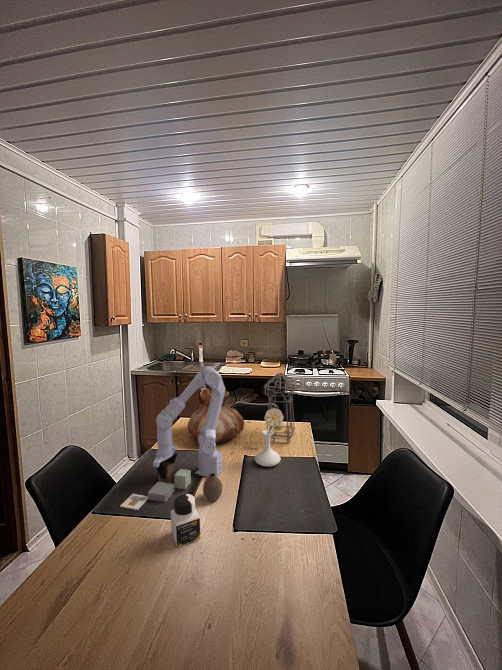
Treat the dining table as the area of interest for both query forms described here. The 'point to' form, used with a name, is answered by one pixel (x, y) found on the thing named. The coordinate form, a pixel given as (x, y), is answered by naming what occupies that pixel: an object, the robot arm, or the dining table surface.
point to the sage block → (182, 478)
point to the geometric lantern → (282, 401)
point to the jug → (227, 421)
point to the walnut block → (168, 473)
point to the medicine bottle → (185, 520)
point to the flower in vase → (267, 454)
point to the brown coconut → (212, 487)
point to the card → (134, 501)
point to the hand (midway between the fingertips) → (166, 475)
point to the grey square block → (161, 491)
